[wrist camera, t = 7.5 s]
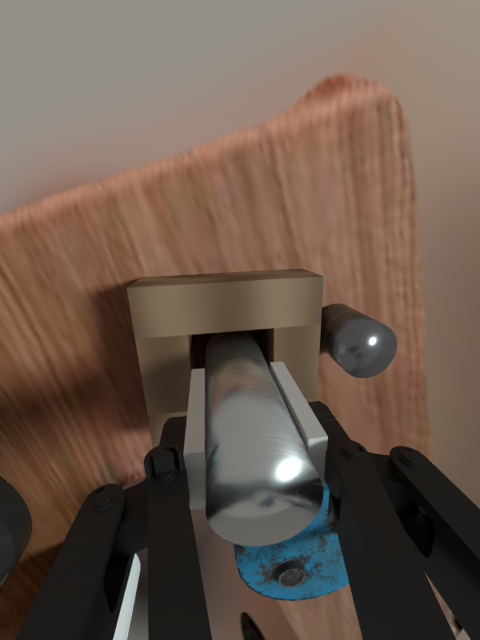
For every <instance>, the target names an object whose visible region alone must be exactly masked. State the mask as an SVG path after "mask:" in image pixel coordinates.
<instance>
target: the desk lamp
mask: <svg viewBox="0 0 480 640" xmlns="http://www.w3.org/2000/svg"><path fill="white" fill-rule="evenodd" d="M328 502H329V488H328V486H327V484H326V482H325V485H324V496H323V502H322V505H321V508H320V510H319V512H318V514H317V515H316V517H315V518H314V519H313V521H312V522H311V523H310V524H309V525H308V526H307V527H306V528H305V529H303V530H302V531H301V532H299V533H298V534H296V535H295V536H293V537H291V538H289V539H287V540H284V541H282V542H279V543H275V544H271V545H266V546H243V545H238V544H234V551H235V557H236V564H237V567H238V571H239V575H240V577H241V578H242V579H243V581H244V582H245V583H246V585H247V586H248V587H249V588H251V589H252V590H254V591H255V592H257V593H259V594H260V595H263V596H266V597H269V598H273V599H276V600H289V601H295V600H304V599H312V598H315V597H319V596H322V595H326V594H329V593H331V592H333V591H335V590H338V589H340V588H342V587H344V586H346V585H347V584H349V580H348V576H347V572H346V568H345V564H344V559H343V555H342V551H341V547H340V543H339V539H338V535H337V531H336V527H335V523H334V518H333V514H332V510H331V515H328Z"/></svg>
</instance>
